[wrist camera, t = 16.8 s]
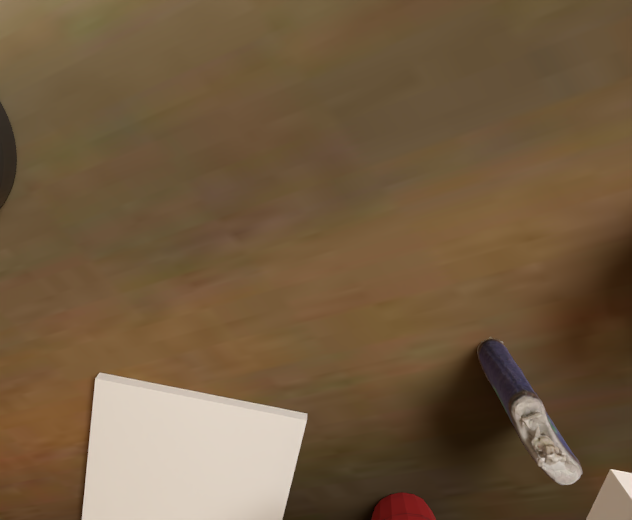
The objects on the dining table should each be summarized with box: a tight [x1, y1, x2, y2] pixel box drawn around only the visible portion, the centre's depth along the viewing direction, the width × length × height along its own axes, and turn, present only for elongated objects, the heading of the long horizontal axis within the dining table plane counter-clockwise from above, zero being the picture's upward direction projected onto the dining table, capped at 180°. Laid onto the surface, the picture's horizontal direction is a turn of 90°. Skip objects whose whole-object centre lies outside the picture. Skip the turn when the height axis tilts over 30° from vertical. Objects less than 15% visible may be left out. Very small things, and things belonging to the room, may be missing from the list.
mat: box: [82, 373, 307, 520], centre depth 53 cm, size 19×19×1 cm
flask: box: [477, 337, 583, 485], centre depth 44 cm, size 9×3×11 cm, turn 34°
